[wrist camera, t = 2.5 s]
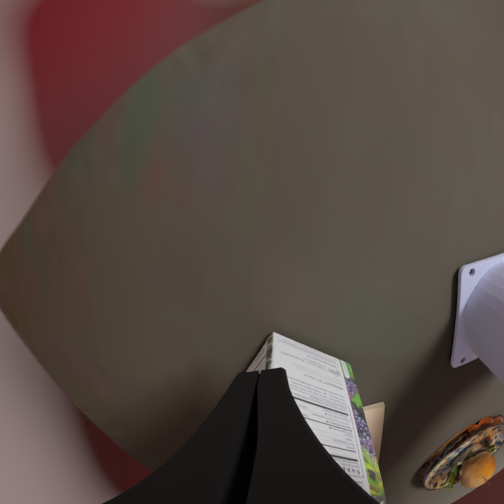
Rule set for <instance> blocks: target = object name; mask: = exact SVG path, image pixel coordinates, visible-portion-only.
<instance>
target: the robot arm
mask: <svg viewBox="0 0 504 504" xmlns="http://www.w3.org/2000/svg"><path fill="white" fill-rule="evenodd" d="M471 269H472V271H471V273H470V274H469V272H470V270H471ZM477 358H479V359H480V360H481V361H482V362H483V363H484V364H485V365H486V366H487V367H488V368H489V370H490V371H491V372H492V373H493V374H494V375H495V376H496V377H497V378H498V379H499V380H500V382H501V383H502V384H503V385H504V253H501V254H498V255H495V256H492V257H489V258H486V259H483V260H480V261H476V262H473V263H470V264H467V265H464V266H462V267H461V268H460V270H459V273H458V297H457V312H456V324H455V333H454V341H453V349H452V356H451V362H450V363H451V365H452V367H453V368H456V367H459V366H461V365H463V364H466V363H468V362H470V361H473V360H475V359H477ZM103 504H380V503H379V502H378V501H376V500H375V499H374V498H373V497H371V496H370V495H369V494H368V493H367V492H366V491H365V490H364V489H363V488H362V487H361V486H360V485H358V484H357V483H356V482H355V481H354V480H353V479H352V478H351V477H350V476H349V475H348V474H347V473H346V472H345V471H344V470H343V469H342V468H341V467H340V465H339V464H338V463H337V462H336V461H335V460H334V459H333V457H332V456H331V455H330V454H329V453H328V451H327V450H326V449H325V448H324V446H323V445H322V444H321V442H320V441H319V439H318V438H317V437H316V435H315V434H314V432H313V431H312V429H311V428H310V426H309V425H308V423H307V421H306V420H305V418H304V416H303V415H302V413H301V411H300V409H299V407H298V405H297V403H296V401H295V399H294V397H293V395H292V393H291V390H290V387H289V383H288V378H287V373H286V370H285V369H284V368H282V367H279V368H273V369H266V370H261V372H260V373H259V370H258V371H251V372H243V373H239V374H238V375H237V376H236V377H235V379H234V380H233V382H232V384H231V385H230V387H229V388H228V390H227V391H226V393H225V394H224V396H223V397H222V399H221V400H220V402H219V403H218V404H217V406H216V407H215V408H214V410H213V411H212V412H211V414H210V415H209V416H208V418H207V419H206V420H205V422H204V423H203V424H202V425H201V426H200V428H199V429H198V430H197V431H196V432H195V433H194V435H193V436H192V437H191V438H190V439H189V440H188V441H187V442H186V444H185V445H184V446H183V447H182V448H181V449H180V450H179V451H178V452H177V453H176V454H175V455H173V456H172V457H171V458H170V459H169V460H168V461H167V462H166V463H165V464H163V465H162V466H161V467H160V468H159V469H157V470H156V471H155V472H153V473H152V474H151V475H149V476H148V477H146V478H145V479H144V480H142V481H141V482H139V483H138V484H137V485H135V486H134V487H132V488H131V489H129V490H127V491H126V492H124V493H122V494H120V495H119V496H117V497H115V498H113V499H111V500H109V501H107V502H105V503H103Z"/></svg>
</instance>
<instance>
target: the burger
mask: <svg viewBox="0 0 504 504" xmlns="http://www.w3.org/2000/svg"><path fill="white" fill-rule="evenodd" d="M503 443H504V417H503V416H501V415H500V417H498V416H497V418H492V417H490V416H488V417H487V418H483V419H482V420H481V421H480V422H479V424H478V425H474V424H472V425H470V426H469V427H467V428H465V429H464V430H462V431H461V432H460V433H458V434H457V435H455V436H454V437H453V438H452V439H450V440H449V441H448V442H446V443H445V444H444V445H443V446H442V447H441V448H439V449H438V450H437V451H436V452H435V453H434V454H433V455H432V456H431V457H430V458H429V459H428V460H427V461H426V463H425V464H424V465H423V467H422V468H421V470H420V473H419V475H420V476H419V479H420V481H422V483H423V487H424V489H426V490H436V489H441V488H445V487H448V486H449V489H448V490H450V489H451V488H452V485H453V484H456V483H457V482H459V481H460V484H462V485H463V486H464V487H466V488H474V487H477V486H480V485H481V484H483V483H485V482H488V481H487V480H488V479H489V478H490V477H491V476H492V474H493V473H494V471H495V468H496V460H495V458H494V456H493V455H494V454H495V452H496V451H497V450H498V449H499V448H500V447H501V446H502V444H503ZM489 485H490V484H489ZM450 486H451V488H450Z"/></svg>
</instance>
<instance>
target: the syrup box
mask: <svg viewBox="0 0 504 504" xmlns="http://www.w3.org/2000/svg"><path fill="white" fill-rule="evenodd" d="M279 367H282V368H284V369H285V370H286V373H287V378H288V383H289V387H290V390H291V393H292V395H293V397H294V399H295V401H296V403H297V405H298V407H299V409H300V411H301V413H302V415H303V416H304V418H305V420H306V421H307V423H308V425H309V426H310V428H311V429H312V431H313V432H314V434H315V435H316V437H317V438H318V439H319V441H320V442H321V444H322V445H323V446H324V448H325V449H326V450H327V451H328V453H329V454H330V455H331V456H332V457H333V459H334V460H335V461H336V462H337V463H338V464H339V465H340V467H341V468H342V469H343V470H344V471H345V472H346V473H347V474H348V475H349V476H350V477H351V478H352V479H353V480H354V481H355V482H356V483H357V484H358V485H360V486H361V487H362V488H363V489H364V490H365V491H366V492H367V493H368V494H369V495H370V496H371V497H373V498H374V499H375V500H376V501H378V502H379V503H380V504H387V503H386V498H385V493H384V488H383V484H382V479H381V475H380V471H379V467H378V463H377V459H376V454H375V450H374V447H373V443H372V440H371V436H370V432H369V428H368V425H367V422H366V418H365V414H364V410H363V406H362V402H361V399H360V396H359V393H358V389H357V386H356V382H355V379H354V376H353V373H352V369H351V366H350V364H348V363H346V362H344V361H341V360H339V359H337V358H334V357H332V356H329V355H327V354H325V353H322V352H320V351H317V350H315V349H313V348H310V347H308V346H306V345H303V344H301V343H298V342H296V341H293V340H291V339H289V338H287V337H284V336H282V335H280V334H277V333H275V332H272V333H271V334H270V336H269V337H268V339H267V340H266V342H265V343H264V345H263V347H262V348H261V349H260V351H259V352H258V354H257V355H256V357H255V358H254V360H253V361H252V363H251V364H250V366H249V367H248V369H247V370H246V371H245V372H251V371H258V370H259V373H260V372H261V370H266V369H273V368H279Z"/></svg>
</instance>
